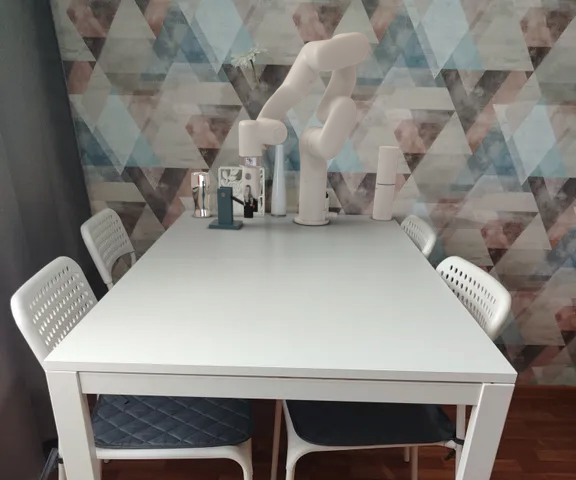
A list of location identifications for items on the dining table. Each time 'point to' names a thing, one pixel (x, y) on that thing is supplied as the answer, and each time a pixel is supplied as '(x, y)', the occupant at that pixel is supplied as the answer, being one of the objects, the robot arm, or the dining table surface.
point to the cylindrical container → (385, 182)
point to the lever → (238, 200)
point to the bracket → (225, 210)
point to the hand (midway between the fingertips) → (251, 214)
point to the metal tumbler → (201, 193)
